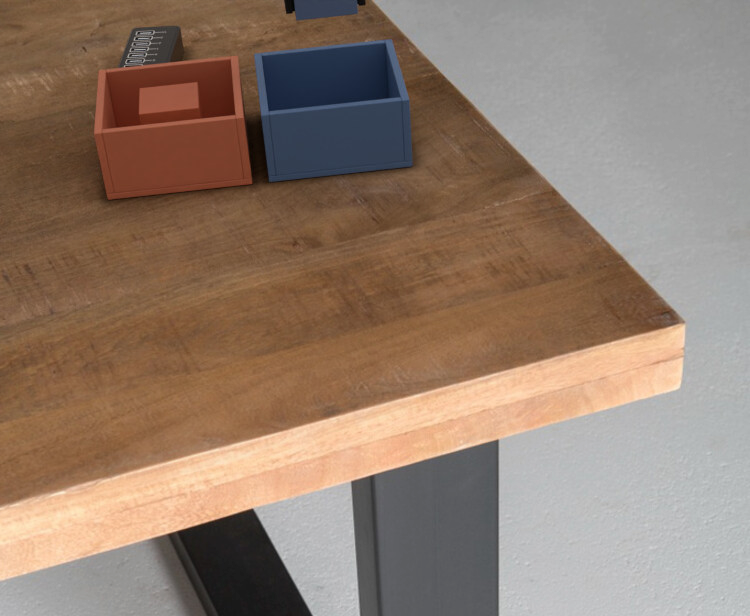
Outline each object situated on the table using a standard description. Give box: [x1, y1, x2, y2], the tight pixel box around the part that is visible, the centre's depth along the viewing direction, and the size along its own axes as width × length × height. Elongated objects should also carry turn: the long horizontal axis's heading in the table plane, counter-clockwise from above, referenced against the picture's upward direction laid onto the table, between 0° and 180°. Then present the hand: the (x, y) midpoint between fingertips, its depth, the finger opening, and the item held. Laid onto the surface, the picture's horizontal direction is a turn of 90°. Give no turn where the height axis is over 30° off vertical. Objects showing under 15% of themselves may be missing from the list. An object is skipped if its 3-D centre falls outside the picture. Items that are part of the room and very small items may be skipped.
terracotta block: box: [139, 82, 203, 125], centre depth 111 cm, size 5×5×5 cm
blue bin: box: [253, 38, 414, 183], centre depth 112 cm, size 11×11×6 cm
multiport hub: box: [117, 25, 185, 68], centre depth 122 cm, size 4×14×2 cm, turn 178°
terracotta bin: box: [93, 55, 253, 201], centre depth 111 cm, size 11×11×6 cm
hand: (324, 0), depth 106 cm, fingers closed on blue block, 4 cm apart
